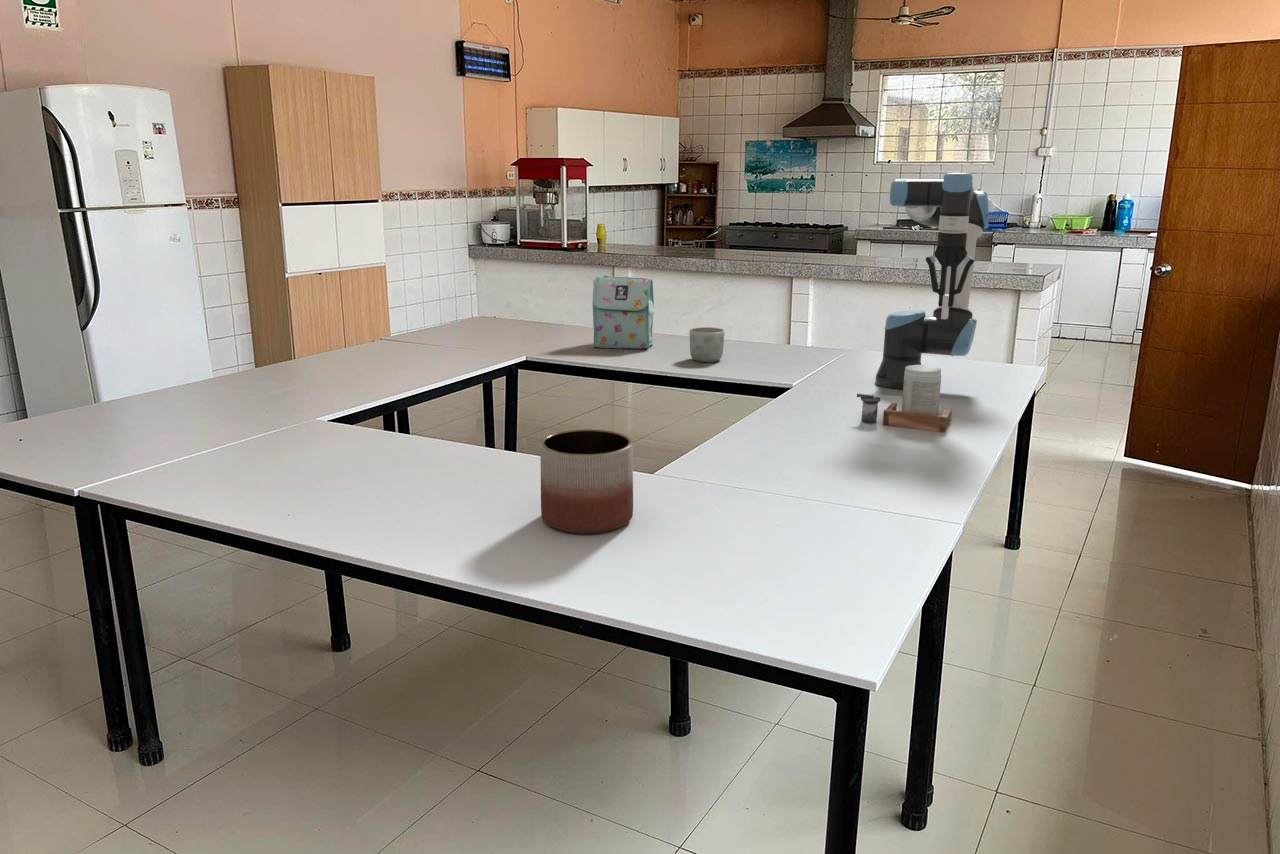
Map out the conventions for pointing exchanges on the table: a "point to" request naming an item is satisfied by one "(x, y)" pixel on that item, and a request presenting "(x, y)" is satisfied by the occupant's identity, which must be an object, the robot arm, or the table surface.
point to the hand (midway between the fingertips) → (944, 318)
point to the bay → (916, 419)
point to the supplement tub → (921, 389)
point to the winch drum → (869, 408)
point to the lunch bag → (623, 312)
